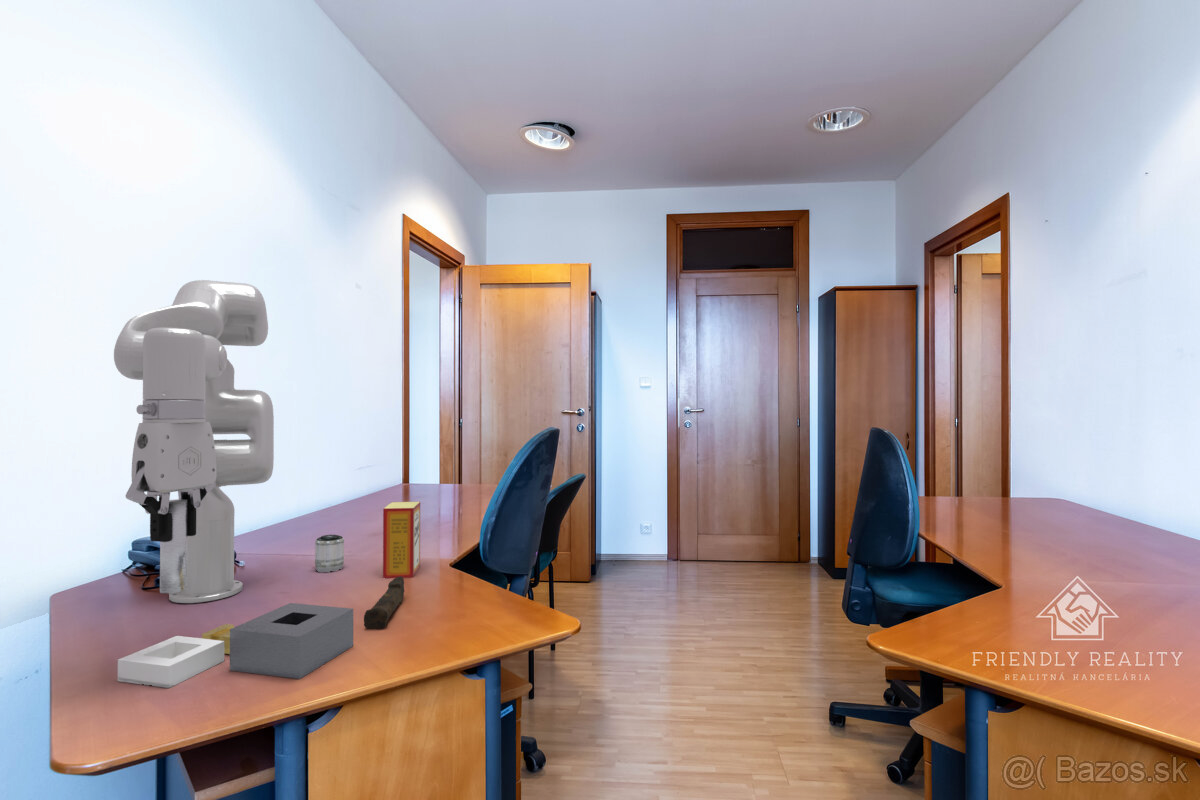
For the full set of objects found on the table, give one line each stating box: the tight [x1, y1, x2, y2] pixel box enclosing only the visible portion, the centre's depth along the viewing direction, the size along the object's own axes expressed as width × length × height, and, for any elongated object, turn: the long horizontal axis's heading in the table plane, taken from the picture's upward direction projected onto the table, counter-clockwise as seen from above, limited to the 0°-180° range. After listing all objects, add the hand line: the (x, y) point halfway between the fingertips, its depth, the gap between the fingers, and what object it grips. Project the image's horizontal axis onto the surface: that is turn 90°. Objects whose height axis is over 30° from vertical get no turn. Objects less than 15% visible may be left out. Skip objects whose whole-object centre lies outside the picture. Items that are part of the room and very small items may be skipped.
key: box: [201, 623, 235, 655], centre depth 94 cm, size 13×4×3 cm, turn 77°
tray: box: [117, 635, 225, 689], centre depth 87 cm, size 9×9×3 cm
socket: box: [229, 602, 354, 680], centre depth 92 cm, size 12×12×6 cm
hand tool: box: [363, 576, 405, 630], centre depth 113 cm, size 19×4×5 cm, turn 3°
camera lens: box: [314, 534, 345, 573], centre depth 141 cm, size 6×6×8 cm
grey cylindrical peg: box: [159, 498, 187, 594], centre depth 87 cm, size 3×3×13 cm
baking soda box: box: [382, 501, 421, 579], centre depth 139 cm, size 10×6×16 cm
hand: (173, 536), depth 87 cm, fingers closed on grey cylindrical peg, 3 cm apart
